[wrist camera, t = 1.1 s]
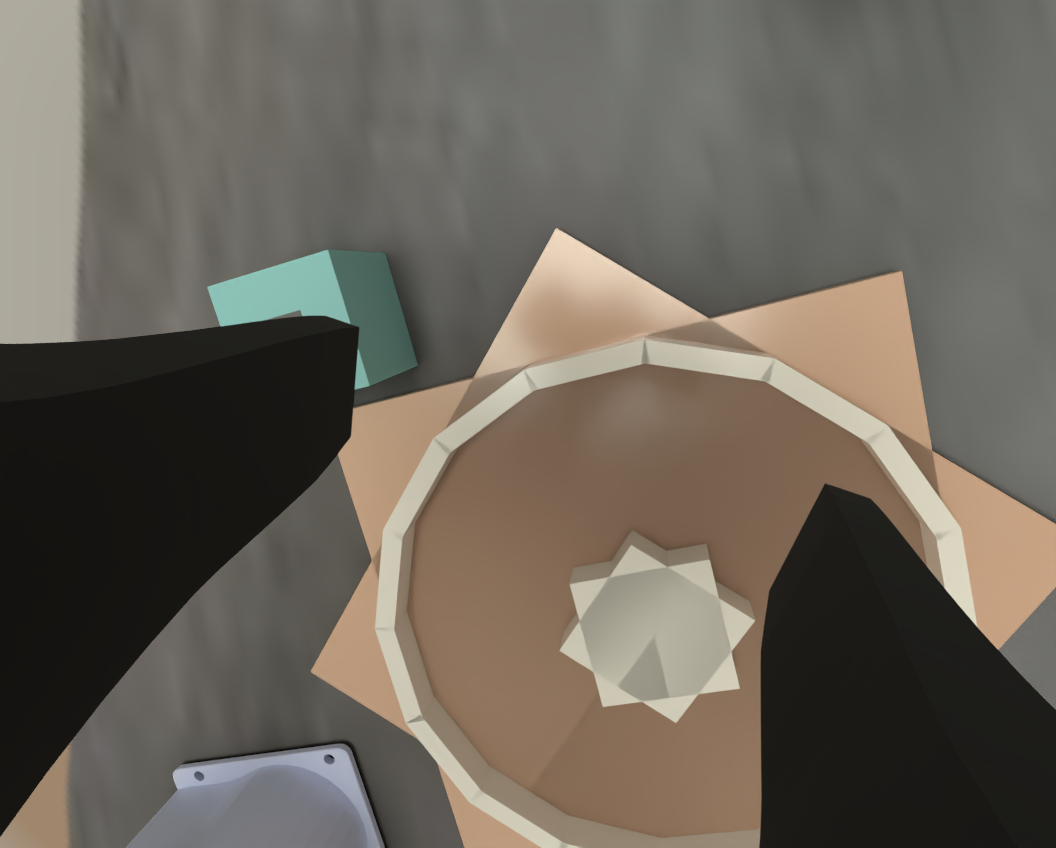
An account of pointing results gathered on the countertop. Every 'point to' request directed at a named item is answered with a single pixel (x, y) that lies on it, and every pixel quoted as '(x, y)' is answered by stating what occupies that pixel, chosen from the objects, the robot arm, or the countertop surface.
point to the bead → (328, 304)
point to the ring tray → (637, 545)
